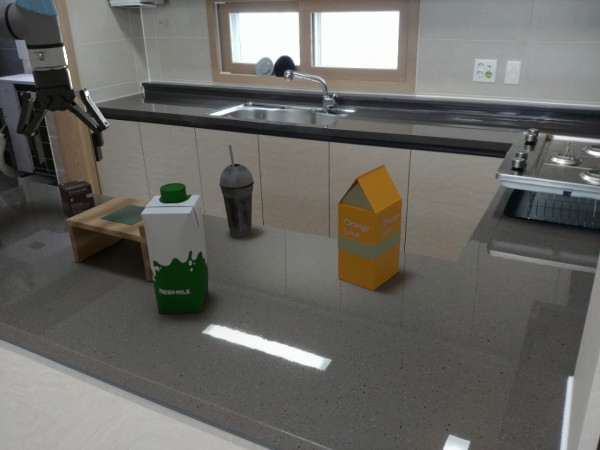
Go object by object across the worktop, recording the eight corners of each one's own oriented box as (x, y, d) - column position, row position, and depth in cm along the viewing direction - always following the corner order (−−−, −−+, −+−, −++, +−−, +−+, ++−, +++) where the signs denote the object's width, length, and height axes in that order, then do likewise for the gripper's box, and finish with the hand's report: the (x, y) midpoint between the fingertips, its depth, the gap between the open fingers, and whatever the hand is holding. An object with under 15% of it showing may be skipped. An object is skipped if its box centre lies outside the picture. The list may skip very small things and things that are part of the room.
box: (71, 219, 127) (65, 190, 124) (63, 212, 132) (57, 184, 129) (97, 212, 131) (91, 184, 128) (88, 206, 135) (82, 178, 132)
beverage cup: (263, 229, 118) (258, 141, 110) (244, 242, 113) (237, 150, 105) (237, 224, 122) (230, 137, 114) (217, 236, 116) (208, 146, 108)
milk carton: (214, 288, 95) (202, 181, 88) (204, 316, 87) (191, 201, 79) (165, 288, 96) (149, 182, 88) (151, 316, 88) (132, 202, 80)
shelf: (75, 260, 107) (63, 209, 103) (126, 234, 118) (117, 187, 114) (151, 281, 98) (142, 226, 94) (198, 250, 110) (192, 200, 105)
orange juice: (399, 271, 99) (404, 167, 91) (373, 291, 93) (376, 181, 85) (363, 260, 104) (365, 160, 96) (337, 278, 98) (336, 173, 90)
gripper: (-16, 72, 114) (9, 168, 122) (102, 67, 114) (119, 163, 123) (0, 68, 121) (23, 159, 129) (112, 63, 121) (127, 154, 130)
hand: (70, 161), depth 126 cm, fingers open, 13 cm apart
